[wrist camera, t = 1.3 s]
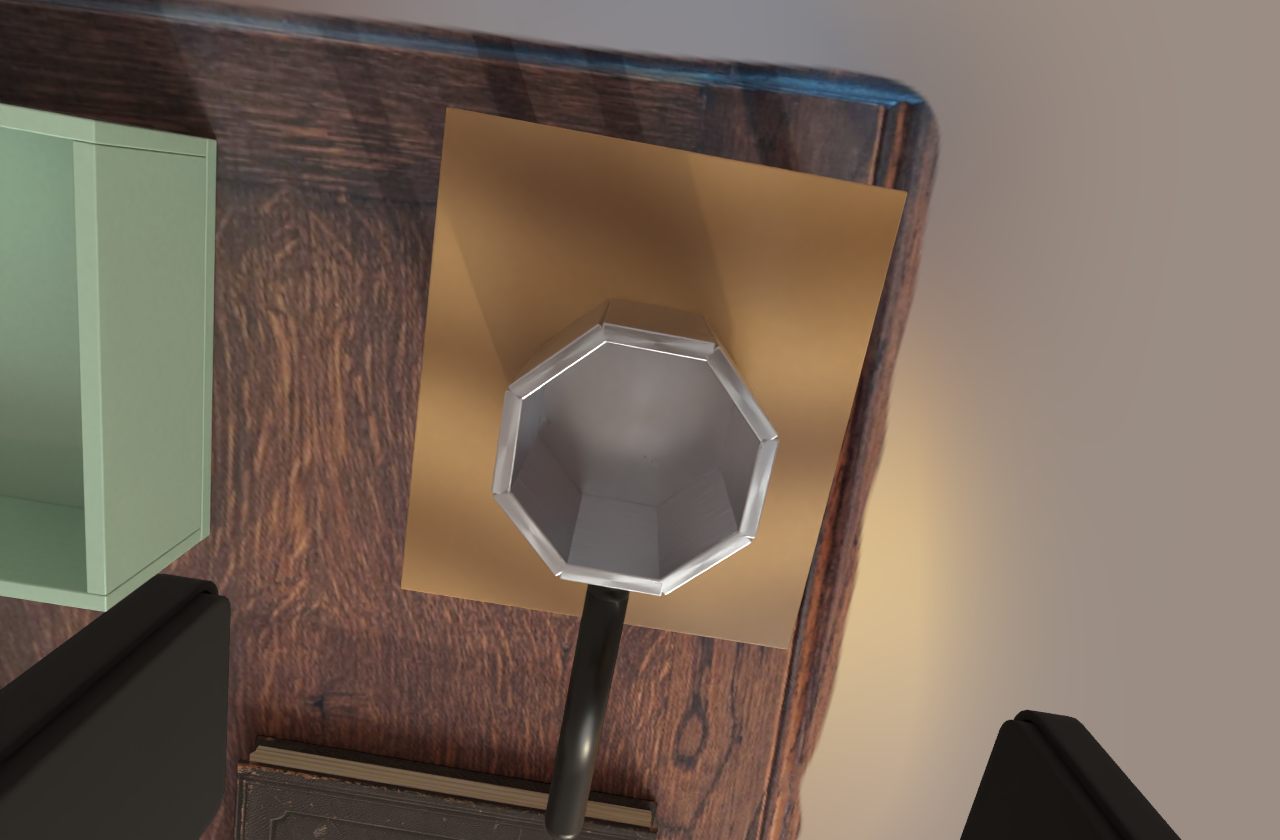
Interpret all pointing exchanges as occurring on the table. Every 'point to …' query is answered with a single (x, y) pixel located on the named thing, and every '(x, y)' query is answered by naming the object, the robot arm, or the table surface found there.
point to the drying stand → (643, 273)
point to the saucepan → (627, 486)
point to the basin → (102, 353)
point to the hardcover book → (404, 800)
